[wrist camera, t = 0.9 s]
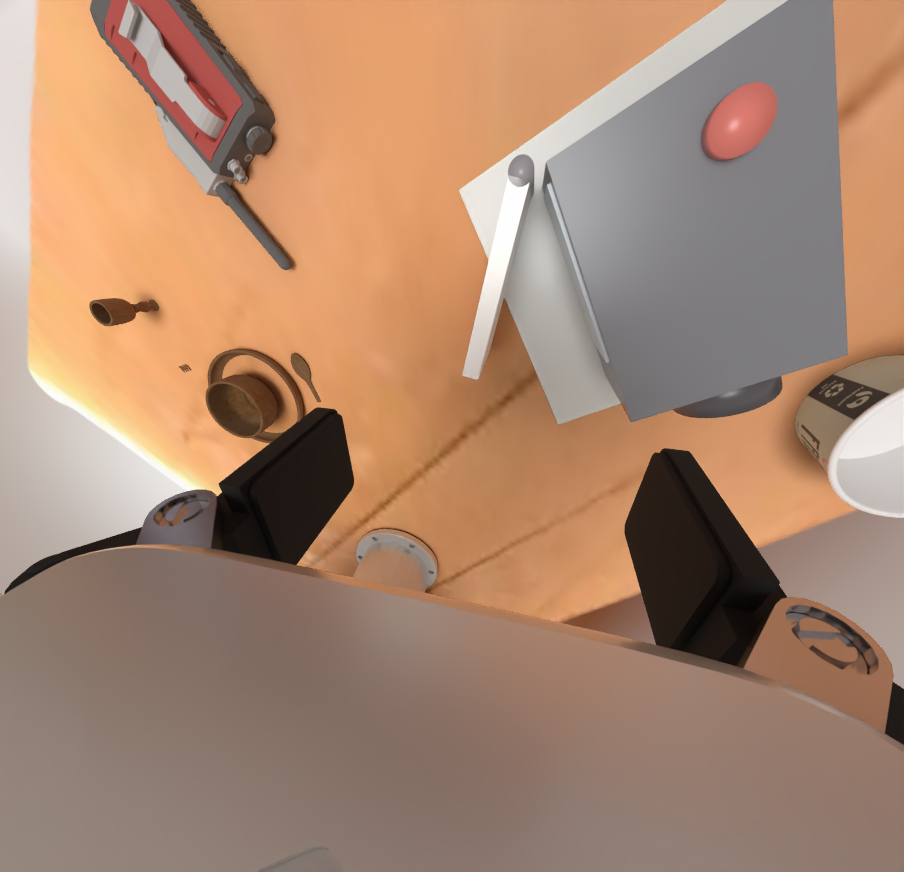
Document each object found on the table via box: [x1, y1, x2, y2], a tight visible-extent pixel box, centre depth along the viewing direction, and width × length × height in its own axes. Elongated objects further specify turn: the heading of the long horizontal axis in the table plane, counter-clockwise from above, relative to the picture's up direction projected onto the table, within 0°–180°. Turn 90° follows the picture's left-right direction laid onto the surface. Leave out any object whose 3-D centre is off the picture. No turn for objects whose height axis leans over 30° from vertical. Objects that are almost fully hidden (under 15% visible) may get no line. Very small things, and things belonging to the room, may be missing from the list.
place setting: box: [90, 298, 321, 443], centre depth 36 cm, size 18×20×6 cm
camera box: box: [459, 0, 848, 425], centre depth 21 cm, size 22×20×10 cm
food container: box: [795, 355, 904, 518], centre depth 25 cm, size 12×12×6 cm
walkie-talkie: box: [90, 0, 291, 270], centre depth 26 cm, size 9×4×20 cm
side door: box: [462, 154, 534, 380], centre depth 24 cm, size 13×1×8 cm, turn 168°
